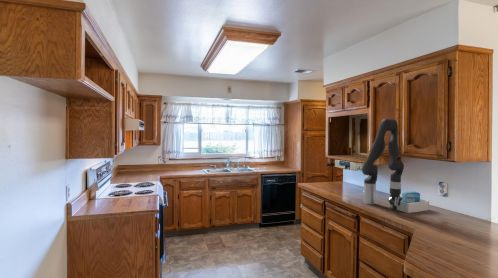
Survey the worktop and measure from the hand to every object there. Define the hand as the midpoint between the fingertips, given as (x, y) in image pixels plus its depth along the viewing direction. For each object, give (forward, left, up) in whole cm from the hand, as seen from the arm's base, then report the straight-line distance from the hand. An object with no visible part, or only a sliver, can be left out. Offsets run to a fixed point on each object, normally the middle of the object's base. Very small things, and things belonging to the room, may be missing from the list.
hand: (394, 210), depth 218 cm
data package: (-4, +22, -1) cm, 22 cm away
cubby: (-4, +21, -2) cm, 21 cm away
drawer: (-4, +18, -2) cm, 19 cm away
